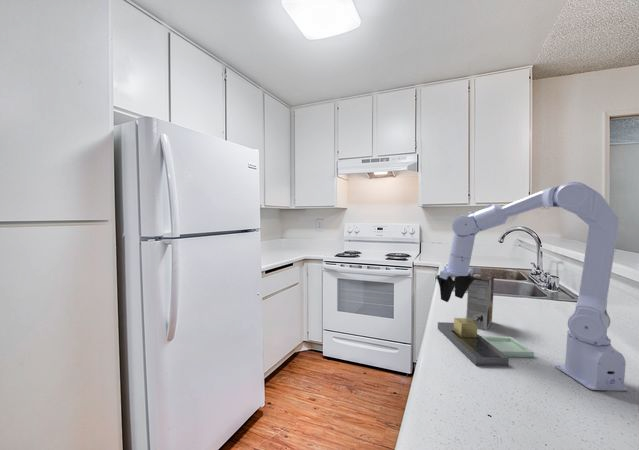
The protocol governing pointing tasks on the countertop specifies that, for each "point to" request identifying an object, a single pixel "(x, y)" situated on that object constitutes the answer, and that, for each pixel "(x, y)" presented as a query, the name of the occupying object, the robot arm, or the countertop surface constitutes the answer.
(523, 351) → the tray
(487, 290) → the coffee box
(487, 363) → the grey flat long piece
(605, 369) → the robot arm
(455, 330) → the brass cube
